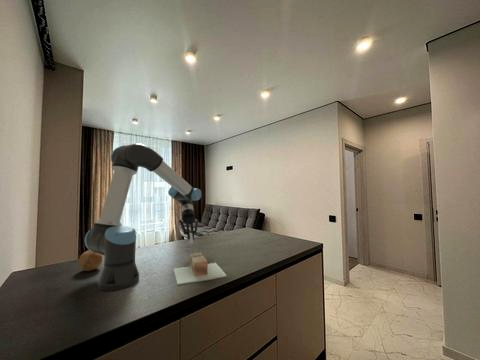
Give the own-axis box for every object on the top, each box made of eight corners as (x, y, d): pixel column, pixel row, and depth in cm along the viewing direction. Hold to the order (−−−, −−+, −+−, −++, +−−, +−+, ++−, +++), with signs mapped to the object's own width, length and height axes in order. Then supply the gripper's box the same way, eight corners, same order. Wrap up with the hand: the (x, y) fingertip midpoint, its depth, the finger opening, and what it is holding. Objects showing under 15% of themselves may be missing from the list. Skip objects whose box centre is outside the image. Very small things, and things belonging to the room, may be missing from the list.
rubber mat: (173, 269, 102) (173, 268, 102) (215, 263, 111) (215, 262, 111) (177, 285, 86) (177, 283, 86) (226, 276, 94) (226, 275, 94)
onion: (103, 265, 108) (104, 246, 108) (99, 272, 99) (99, 251, 99) (81, 268, 104) (82, 248, 105) (74, 275, 95) (75, 253, 95)
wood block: (189, 253, 107) (194, 263, 93) (200, 252, 109) (207, 261, 96) (189, 265, 107) (194, 276, 93) (200, 263, 109) (207, 274, 95)
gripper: (196, 215, 140) (201, 246, 123) (177, 216, 134) (179, 248, 118) (198, 208, 135) (203, 239, 119) (178, 208, 130) (180, 241, 114)
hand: (191, 243), depth 118 cm, fingers closed
